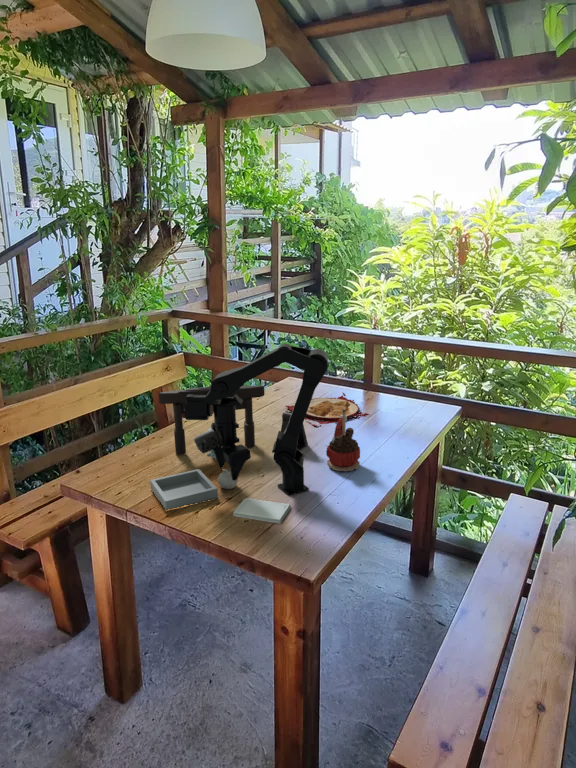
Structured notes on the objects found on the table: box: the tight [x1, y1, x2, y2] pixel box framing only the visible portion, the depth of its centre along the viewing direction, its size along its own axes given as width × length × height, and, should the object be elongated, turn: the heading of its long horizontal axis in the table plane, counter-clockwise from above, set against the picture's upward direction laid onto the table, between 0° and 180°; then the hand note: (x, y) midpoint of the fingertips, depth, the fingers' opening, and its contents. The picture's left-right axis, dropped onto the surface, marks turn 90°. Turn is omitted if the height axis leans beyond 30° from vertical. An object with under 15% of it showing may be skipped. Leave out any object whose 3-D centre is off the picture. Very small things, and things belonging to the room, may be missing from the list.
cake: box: [325, 409, 361, 472], centre depth 161 cm, size 11×9×18 cm
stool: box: [158, 385, 265, 460], centre depth 175 cm, size 16×21×33 cm
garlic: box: [217, 468, 239, 490], centre depth 151 cm, size 6×5×5 cm
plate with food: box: [285, 391, 370, 427], centre depth 211 cm, size 25×26×4 cm
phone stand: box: [280, 410, 309, 451], centre depth 176 cm, size 9×6×12 cm, turn 147°
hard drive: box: [232, 497, 292, 524], centre depth 138 cm, size 2×8×12 cm
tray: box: [149, 468, 219, 510], centre depth 147 cm, size 14×14×3 cm
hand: (227, 473), depth 150 cm, fingers open, 9 cm apart
